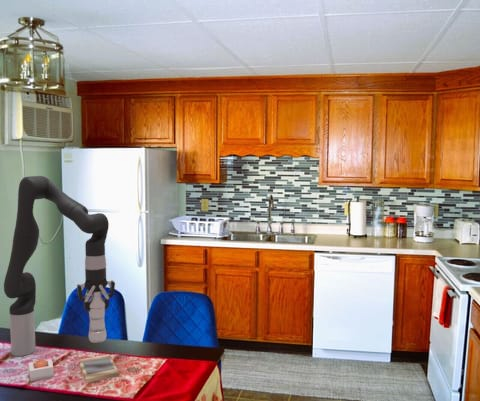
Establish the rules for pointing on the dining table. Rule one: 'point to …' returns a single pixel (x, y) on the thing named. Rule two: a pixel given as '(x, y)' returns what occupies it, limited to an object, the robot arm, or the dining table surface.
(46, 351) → the dining table surface
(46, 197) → the robot arm
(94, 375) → the board
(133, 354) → the dining table surface
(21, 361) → the dining table surface
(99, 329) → the plastic bottle
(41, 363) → the button cap
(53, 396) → the dining table surface
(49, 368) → the button housing
